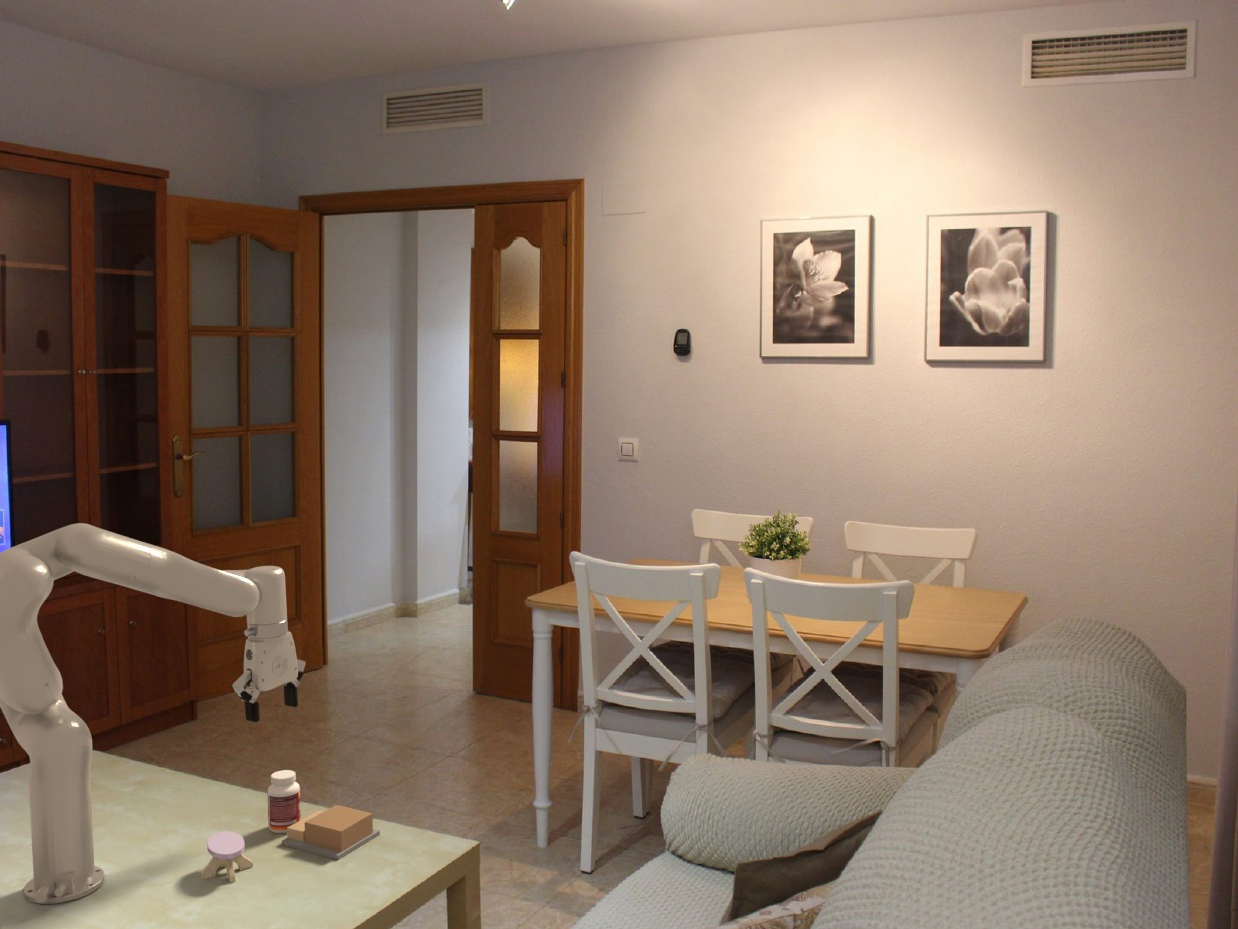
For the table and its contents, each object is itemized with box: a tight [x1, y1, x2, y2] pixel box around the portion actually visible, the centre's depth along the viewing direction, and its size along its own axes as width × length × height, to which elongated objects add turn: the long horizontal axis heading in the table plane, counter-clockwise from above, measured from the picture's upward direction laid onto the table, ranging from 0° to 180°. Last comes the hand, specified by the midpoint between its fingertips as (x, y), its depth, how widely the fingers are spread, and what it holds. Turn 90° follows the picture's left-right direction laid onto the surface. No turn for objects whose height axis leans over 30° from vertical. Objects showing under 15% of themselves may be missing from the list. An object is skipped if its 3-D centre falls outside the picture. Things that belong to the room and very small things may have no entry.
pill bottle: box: [267, 769, 302, 834], centre depth 211 cm, size 6×6×11 cm
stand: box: [281, 804, 381, 860], centre depth 206 cm, size 14×12×5 cm
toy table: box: [200, 830, 254, 883], centre depth 193 cm, size 10×9×6 cm
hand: (272, 713), depth 211 cm, fingers open, 9 cm apart
